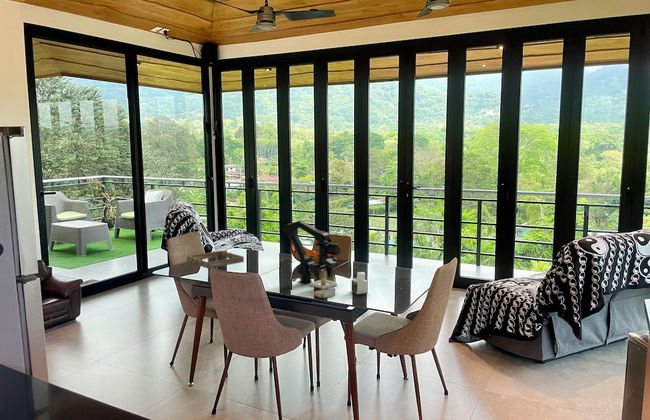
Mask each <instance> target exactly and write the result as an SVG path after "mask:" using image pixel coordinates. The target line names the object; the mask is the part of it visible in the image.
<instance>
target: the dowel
mask: <svg viewBox="0 0 650 420" xmlns="http://www.w3.org/2000/svg"><path fill="white" fill-rule="evenodd" d="M320 280H321V285H323V286H325V285H326V280H327V269H320Z"/></svg>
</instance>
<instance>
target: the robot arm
mask: <svg viewBox="0 0 650 420" xmlns="http://www.w3.org/2000/svg"><path fill="white" fill-rule="evenodd" d="M282 229H283V232H284V233H285V234H286V236H288V238H289V239H290V240H291V242H292V244H293V246H294V247H293V248H294V249H295V251H296V252H297V255H298V258H299V259H300V260H299V261H300V263H299V264H300V267H299V268H298V269H297V272H298V274H299V275H300V276H299V281H298V283H300V284H304V285H308V284H310V283H311V282H313V281H312V274H311V273H312V272H313V275H314V277H315V279H316V281H319V280H320V273H321V268H322V267H326V276H327V277H328V278H330V277H331V275H332V272H333V270H334V269H335V268H336V267H337V266H338V258H336V257H334V258H331V256H339V255H340V253H341V247H340V246H339V243H334V241H333V239H332V237H331V236H330V233H329V232H326V231H324V230H319V229H317V228H316V227H314V226H312V225H311V224H309V223H307V222H305V221H304V220H302V219H301V220H297V221H296V222H291V223H286V224H284V226H283V227H282ZM298 229H301V230H302V231H304V232H305V233H307V234H309V235H311V236H312V237H314V240H316V241H317V243H316V244H315V246H316V247H317V246H318V254H317V256H316V257H317V258H318V261H317V262H315V261H314V259H313V257H312V256H309V255H308V254H307V252H306V250H305V247H304V245H303V243H302V241H301V239H300V237H299V230H298ZM330 255H331V256H330Z"/></svg>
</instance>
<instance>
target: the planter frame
mask: <svg viewBox="0 0 650 420" xmlns="http://www.w3.org/2000/svg"><path fill="white" fill-rule="evenodd" d="M217 257H223V258H226V259H221V260H213V261H205V260H209V259H213V258H217ZM186 261H187V263H189V264H190V263H191V264H193V265H197V266H198V267H203V268H206V269H212V268H213V269H214V268H219V267H222V266H224V267H225V266H228V265H234V264H240V263H244V262H245V261H244V256H242V255H239V254H235V253H232V252H228V251H224V250H219V251H218V250H217V251H216V250H215V251H211V252H207V253H206V252H205V253H199V254H191V255H187V256H186ZM218 266H219V267H218Z"/></svg>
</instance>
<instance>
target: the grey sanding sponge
mask: <svg viewBox="0 0 650 420" xmlns="http://www.w3.org/2000/svg"><path fill="white" fill-rule="evenodd" d="M322 290H323V289H322ZM334 296H336V288H335V287H331V288H327V289H324V290H323V297H322V299H327V298H331V297H334Z"/></svg>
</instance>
